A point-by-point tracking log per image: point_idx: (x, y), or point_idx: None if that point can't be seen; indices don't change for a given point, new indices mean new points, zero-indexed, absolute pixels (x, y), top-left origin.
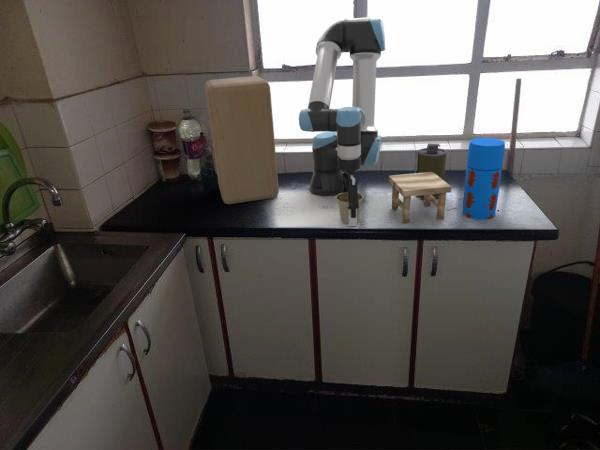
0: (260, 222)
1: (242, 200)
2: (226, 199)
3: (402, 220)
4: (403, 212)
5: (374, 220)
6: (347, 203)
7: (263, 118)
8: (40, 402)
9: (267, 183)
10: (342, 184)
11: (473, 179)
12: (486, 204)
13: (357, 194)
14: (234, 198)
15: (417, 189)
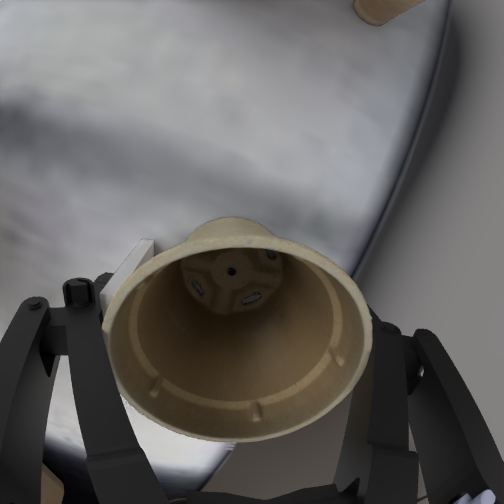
0: (163, 481)
1: (47, 472)
2: (63, 493)
3: (375, 21)
4: (406, 6)
5: (294, 134)
6: (331, 388)
7: None
8: (423, 497)
9: None
10: (46, 414)
11: None
12: None
13: (472, 402)
14: (56, 487)
15: None
